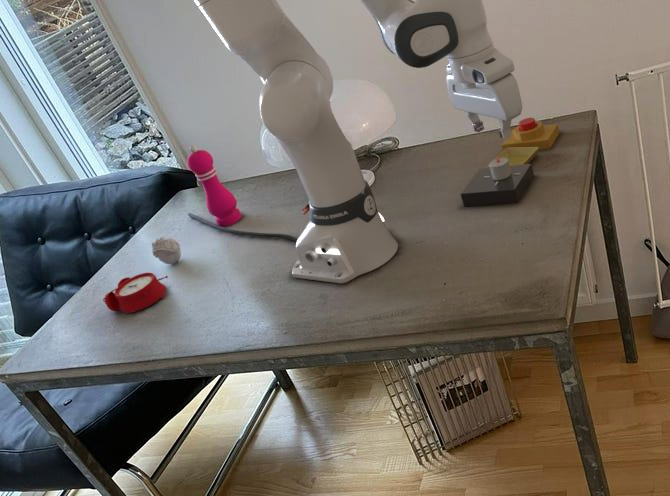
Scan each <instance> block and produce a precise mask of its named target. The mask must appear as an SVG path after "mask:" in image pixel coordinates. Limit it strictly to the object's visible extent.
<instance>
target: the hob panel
mask: <svg viewBox="0 0 670 496" xmlns="http://www.w3.org/2000/svg"><path fill="white" fill-rule="evenodd" d="M510 169H511V175H510V176H509V177H507V178H505V179H502V180H494V179H493V178H492V174H491V171H490V167H484V168H478V169H477V171H476V172H475V173H474V175H473V176H472V177H471V179H470V180H469V182H468V183H467V184H466V186H465V187H464V188H463V190H462V191H461V192H460V197H461V201H462V204H463V207H464V208H467V207H481V206H491V205H492V206H493V205H505V204H506V205H507V204H518V203H519V202H520V200H521V199H522V197H523V196H524V194H525V192H526V191H527V189H528V188H529V186H530V184H531V183H532V181H533V179H534V178H535V174H534V170H533V165H532V163H529V164H523V165H513V166H510Z"/></svg>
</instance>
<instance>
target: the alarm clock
mask: <svg viewBox="0 0 670 496" xmlns="http://www.w3.org/2000/svg"><path fill="white" fill-rule="evenodd" d="M164 279H168V275H165V276H163V277H161V278H157V276H156V275H155V274H154V273H153V272H143V273H139V274H137V275H134V276H132V277H130V276H129V277H123V278H121V279H120V280H119V281H118V283H117V287H116V288H115V289H113V290H110V291H109V292H107V293H106V294H105V295H104V297H103V299H102V302H104V303H105V305H106V307H107V308H108V310H109V311H112V312H117V311H119V310H120V311H121V312H123V313H126V314H128V313H129V314H130V313H135V312H138V311H141V310H144V309H146V308H148V307H149V306H151V305H153V304H155V303H156V302H157V301H159V300H160V299H161V298H162V299H164V298H165V297H166V295H165V294H166V291H167V287H166V285H165V284H163V283H162V282H160V281H162V280H164Z"/></svg>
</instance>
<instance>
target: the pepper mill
mask: <svg viewBox="0 0 670 496" xmlns="http://www.w3.org/2000/svg"><path fill="white" fill-rule="evenodd" d="M189 151H190V154H189V155H188V156H187V159H186V165H187V167H188V169H189V170H190V171H191V172H193V173H194V175H195V176H194V177H196V180H197V181H198V182H200V183H201V185H202V187H203V189H204V192H205V205H206V208H207V211H208V213H209V214H210V215H211V216H213V217H214V218H215V219H214V220H215V222H216V225H218V226H221V227H224V228H226V227H229V226H231V225H234V224H235V223H237V222H238V221H240V220H241V219H242V215H243V214H242V213H241V211H240V209H239V208H237V205H238V202H237V198H236V197H235V195H234V194H233V193H232V192H231V191H229V189H227V188H226V187H225V186H224V185H223V184H222V182H221V181H220V179H219V178H218V170H216V166H214V158H213V156H212V155H211V153H210V152H208V151H207V150H205V149H199V148H198V147H197V145H195V144H193V145H191V146H190V147H189Z"/></svg>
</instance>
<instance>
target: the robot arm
mask: <svg viewBox="0 0 670 496" xmlns="http://www.w3.org/2000/svg"><path fill="white" fill-rule="evenodd" d="M193 1H194V3H195V4H196V6H198V8H199V10H200V11H201V13H202V14H203V16H204V18H205V19H206V20H207V22H208V23H209V24H210V25H211V27H212V28H213V30H214V31H215V33H216V34H217V35H218V37H219V38H220V40H221V41H222V42H223V44H224V46H225V47H226V48H227V49H228V50H229V51H230V53H232V54H233V55H235V56H237V57H238V58H239V59H240V60H242V61H243V62H244V63H245V64H246V65H247V66H248V67H249V68H250V69H251V70H252V71H253V72H254V73H255V75H257V77H258V78H259V79H260V81H262V83H263V86H262V87H261V90H260V95H259V112H260V118H261V121H262V123H263V125H264V127H265V128H266V130H267V131H268V132H269V133H270V134H271V135H272V136H274V137H275V138H276V140H277V141H278V143H279V145H280V146H281V147H282V149H283V151H284V153H286V155H287V157H288V158H289V160H290V161H291V163H292V164H293V167H294V169H295V171H296V173H297V175H298V177H299V179H300V181H301V184H302V186H303V188H304V191H305V193H306V196H307V197H308V202H307V203H306V205H305V206H304V207H303V208H302V209H301V212H303V216H305V215H307V213H309V221H308V223H307V224H306V226H305V227H304V229H303V230H302V231H301V233H300V235H299V236H298V238H297V237H295V236H293V235H290V234H285V233H267V232H266V233H264V232H254V231H253V232H252V231H245V230H237V229H232V228H228V227H221V226H218V224H217V223H213V222H210V221H208V220H206V219H204V218H203V217H200V216H198V215H196V214H194V213H192V212H188V213H187V216H188V217H191V218H193V219H195V220H197V221H199V222H201V223H203V224H205V225H207V226H210V227H212V228H214V229H217V230H220V231H223V232H228V233H232V234H236V235H243V236H250V237H251V236H252V237H264V238H284V239H289V240H291V241H293V242H295V252H296V257H297V258H298V259H297V260H296V261H295V262H294V264H293V266H292V269H291V275H292V277H293V278H295V279H302V280H311V281H319V282H327V283H335V284H346V283H348V282H350V281H351V280H354V279H355V278H357V277H359V276H362V275H364V274H366V273H370V272H372V271H374V270H376V269H378V268H380V267H381V266H383V265H384V264H386V263H388V262H389V261H390V260H391V259H392V258H393V257H394V256H395V254H396V253H397V252H398V248H399V243H398V241H397V240H396V239H395V238H394V236H393V235H392V233H391V231H390V230H389V229H388V227H387V226H386V224H385V219H384V216H383V215H381V213H380V212H379V211H378V208H377V203H376V200H375V197H374V194H373V192H372V189H371V187H370V184H369V182H368V181H367V180H366V179H365V177H364V175H363V172H362V169H361V167H360V163H359V161H358V158H357V156H356V153H355V151H354V148H353V146H352V145H353V144H352V143H351V142H350V141H349V140H348V139H347V137H346V136H345V133H344V132H343V131H342V128H341V127H340V125H339V123H338V121H337V119H336V118H335V115H334V112H333V110H332V105H331V98H332V95H333V90H334V79H333V75H332V74H333V73H332V72H331V68H330V66H329V65H328V63H327V61H326V60H325V59H324V58H323V56H321V55H320V54H319V53H318V52H317V51H316V49H315V48H314V47H313V46H312V45H311V43H310V42H309V41H308V39H307V38H306V37H305V36H304V34H303V33H302V32H301V31H300V30H299V28H298V27H297V26H296V25H295V24H294V23H293V22H292V20H291V19H290V18H289V17H288V16H287V14H286V13H285V11H284V10H283V8H282V7H281V5H280V4H279V2H278V1H277V0H193ZM360 2H361V3H362V4H363V5H364V7H365V8H366V9H367V10H368V11H369V13H370V14H371V15H372V17H373V18H374V20H375V22H376V25H377V28H378V31H379V34H380V38H381V40H382V42H383V44H384V46H385V48H386V49H387V50H388V51H389V52H390V53H391V54H393V55H395V56H396V57H397V58H398V59H399V60H400V61H402V62H403V63H404V64H405V65H407V66H409V67H411V68H416V69H423V68H426V67H429V66H431V65H433V64H435V63H437V62H439V61H440V60H442V59H444V58H446V57H447V61H448V63H447V65H446V68H445V69H446V70H445V71H446V75H445V76H446V77H445V83H446V86H447V92H448V93H447V94H448V97H449V102H450V104H451V105H452V108H453V109H454V110H458V111H462V112H464V114H465V117H466V118H467V120H468V121H469V122H470V124H471V127H472V130H473V131H474V132H476V133H480V132H482V131H484V130H485V125H484V121H483V120H481V118H480V116H484V117H488V118H492V119H497V121H498V124H500V129H498V130H497V131H498V134H499V137H500V139H503V140H506V139H508V138H510V137H511V132H512V130H511V126H512V120H514V119H515V118H517V117H519V116H520V115H521V114H522V111H523V103H522V102H523V101H522V97H521V93H520V88H519V85H518V82H517V78H516V77H515V75H514V74H513V72H514V71H515V64H514V61H513V60H512V59H511V58H510V57H508V56H506V55H505V54H503V53H502V52H501V51H500V50H498V48H496V47H495V46H494V41H493V38H492V36H491V35H490V33H489V31H488V18H487V13H486V9H485V6H484V3H483V2H484V1H483V0H415V1H414V0H360ZM479 115H480V116H479Z"/></svg>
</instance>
